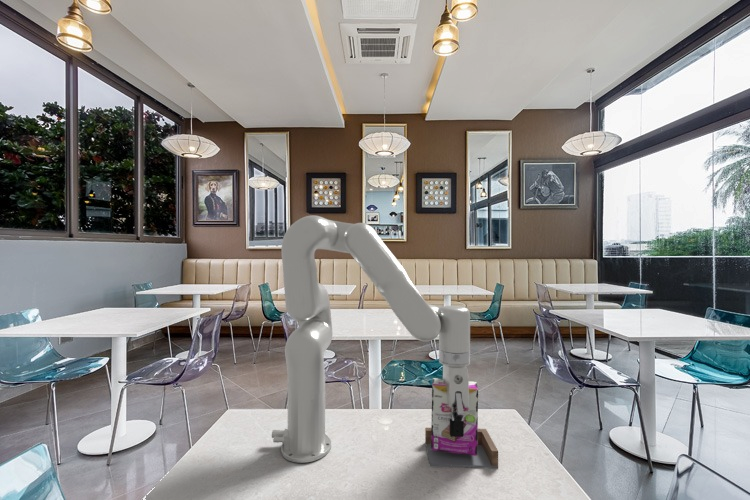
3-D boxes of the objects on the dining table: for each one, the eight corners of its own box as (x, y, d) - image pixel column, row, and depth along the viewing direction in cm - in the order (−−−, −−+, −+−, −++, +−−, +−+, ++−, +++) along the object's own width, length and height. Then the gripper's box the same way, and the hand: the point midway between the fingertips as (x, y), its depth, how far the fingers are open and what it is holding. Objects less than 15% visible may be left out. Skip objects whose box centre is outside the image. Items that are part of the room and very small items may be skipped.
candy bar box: (430, 451, 83) (431, 384, 83) (431, 440, 88) (431, 377, 88) (478, 457, 81) (478, 388, 81) (476, 445, 86) (476, 380, 86)
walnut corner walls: (430, 466, 81) (430, 449, 81) (425, 442, 91) (425, 427, 91) (498, 468, 80) (498, 451, 80) (485, 443, 90) (485, 428, 90)
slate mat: (430, 466, 81) (430, 464, 81) (425, 442, 91) (425, 440, 91) (498, 468, 80) (498, 466, 80) (485, 443, 90) (485, 442, 90)
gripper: (478, 368, 76) (478, 449, 76) (461, 346, 93) (461, 413, 93) (445, 368, 76) (444, 449, 76) (434, 346, 93) (434, 412, 93)
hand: (454, 428), depth 85 cm, fingers closed on candy bar box, 5 cm apart
